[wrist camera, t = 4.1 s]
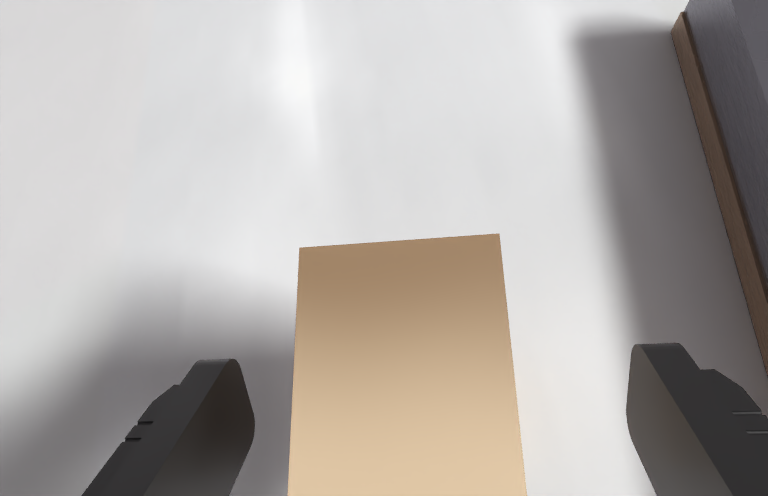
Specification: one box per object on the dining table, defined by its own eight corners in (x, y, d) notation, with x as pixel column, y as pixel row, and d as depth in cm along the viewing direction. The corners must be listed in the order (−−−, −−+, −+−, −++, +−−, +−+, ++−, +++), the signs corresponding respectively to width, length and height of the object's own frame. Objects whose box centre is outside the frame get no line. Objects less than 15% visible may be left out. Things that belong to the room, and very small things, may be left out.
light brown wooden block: (490, 467, 15) (529, 512, 6) (392, 468, 16) (286, 511, 6) (480, 348, 17) (499, 233, 7) (390, 351, 17) (299, 248, 8)
